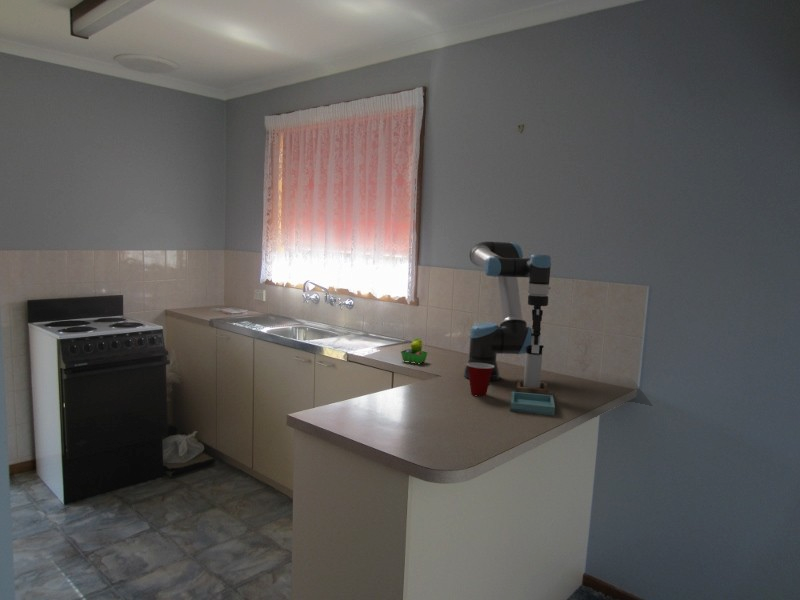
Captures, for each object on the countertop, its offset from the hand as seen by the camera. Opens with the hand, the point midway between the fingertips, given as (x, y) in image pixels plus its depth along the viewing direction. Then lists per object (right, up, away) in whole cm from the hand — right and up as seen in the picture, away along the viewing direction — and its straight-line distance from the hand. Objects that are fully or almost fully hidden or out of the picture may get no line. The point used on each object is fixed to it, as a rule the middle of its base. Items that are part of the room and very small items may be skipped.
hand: (534, 349), depth 218 cm
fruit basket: (-45, -11, +51) cm, 69 cm away
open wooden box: (-1, -18, +3) cm, 18 cm away
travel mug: (-1, -18, +3) cm, 18 cm away
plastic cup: (-21, -18, +1) cm, 28 cm away
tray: (-4, -20, -13) cm, 24 cm away
